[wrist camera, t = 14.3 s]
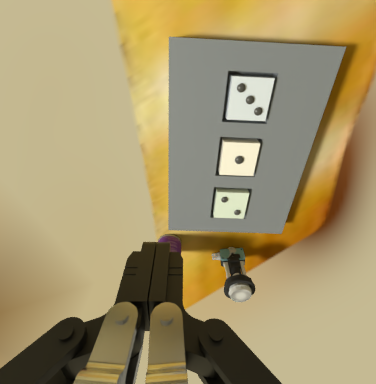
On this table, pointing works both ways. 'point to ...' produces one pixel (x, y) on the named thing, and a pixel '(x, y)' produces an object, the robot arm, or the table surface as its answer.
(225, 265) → the push button
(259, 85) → the tile three pips
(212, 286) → the table surface
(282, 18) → the table surface
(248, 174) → the tile one pip
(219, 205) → the tile two pips
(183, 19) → the table surface
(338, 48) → the button board
